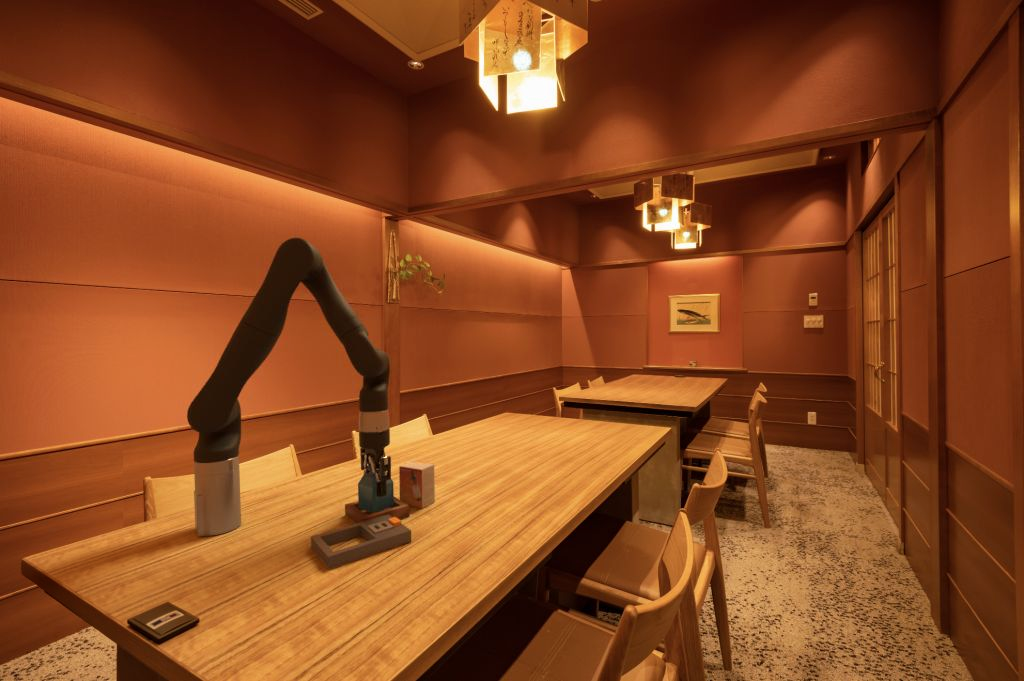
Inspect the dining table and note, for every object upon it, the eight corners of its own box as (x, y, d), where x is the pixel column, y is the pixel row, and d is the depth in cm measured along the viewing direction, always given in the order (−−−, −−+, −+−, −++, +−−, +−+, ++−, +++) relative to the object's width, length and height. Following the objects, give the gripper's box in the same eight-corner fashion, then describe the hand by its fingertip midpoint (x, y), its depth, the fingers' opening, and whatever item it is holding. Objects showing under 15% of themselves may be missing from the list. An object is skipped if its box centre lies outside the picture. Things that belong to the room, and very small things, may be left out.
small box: (399, 504, 125) (398, 465, 125) (412, 497, 130) (411, 460, 130) (422, 509, 121) (421, 469, 121) (435, 501, 126) (434, 463, 126)
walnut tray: (362, 530, 109) (362, 518, 109) (345, 515, 118) (344, 504, 118) (409, 516, 117) (408, 505, 116) (389, 503, 126) (388, 493, 126)
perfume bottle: (373, 513, 113) (372, 465, 113) (358, 508, 117) (357, 461, 116) (393, 505, 118) (392, 459, 118) (378, 500, 122) (377, 455, 121)
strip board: (328, 569, 91) (328, 552, 91) (311, 547, 101) (310, 532, 100) (411, 541, 103) (410, 526, 103) (388, 524, 112) (388, 511, 112)
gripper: (349, 425, 120) (351, 488, 120) (371, 434, 109) (372, 503, 109) (377, 421, 125) (378, 481, 125) (400, 429, 114) (402, 496, 114)
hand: (375, 491), depth 117 cm, fingers closed on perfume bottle, 7 cm apart
